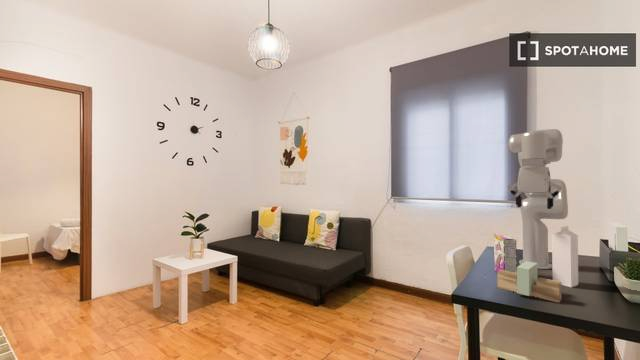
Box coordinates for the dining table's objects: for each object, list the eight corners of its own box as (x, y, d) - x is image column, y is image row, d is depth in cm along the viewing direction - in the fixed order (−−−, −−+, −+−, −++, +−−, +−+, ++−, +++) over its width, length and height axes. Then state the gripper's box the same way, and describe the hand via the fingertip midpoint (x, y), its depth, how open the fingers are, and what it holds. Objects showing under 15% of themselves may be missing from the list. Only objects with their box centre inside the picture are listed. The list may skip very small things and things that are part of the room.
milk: (578, 284, 111) (578, 227, 111) (571, 287, 108) (571, 228, 108) (559, 280, 117) (559, 225, 117) (551, 282, 114) (551, 226, 114)
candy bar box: (493, 270, 129) (493, 233, 129) (505, 271, 128) (505, 234, 128) (503, 279, 118) (503, 238, 118) (517, 279, 117) (517, 239, 117)
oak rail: (500, 285, 111) (500, 269, 111) (561, 299, 97) (561, 281, 98) (497, 287, 109) (497, 271, 109) (559, 302, 95) (558, 284, 95)
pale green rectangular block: (526, 285, 108) (525, 261, 108) (537, 288, 105) (537, 263, 105) (517, 293, 101) (516, 267, 101) (529, 296, 98) (528, 269, 98)
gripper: (564, 162, 109) (564, 208, 109) (510, 164, 122) (511, 205, 122) (559, 162, 104) (560, 210, 104) (504, 164, 117) (505, 207, 118)
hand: (534, 207), depth 113 cm, fingers open, 9 cm apart
